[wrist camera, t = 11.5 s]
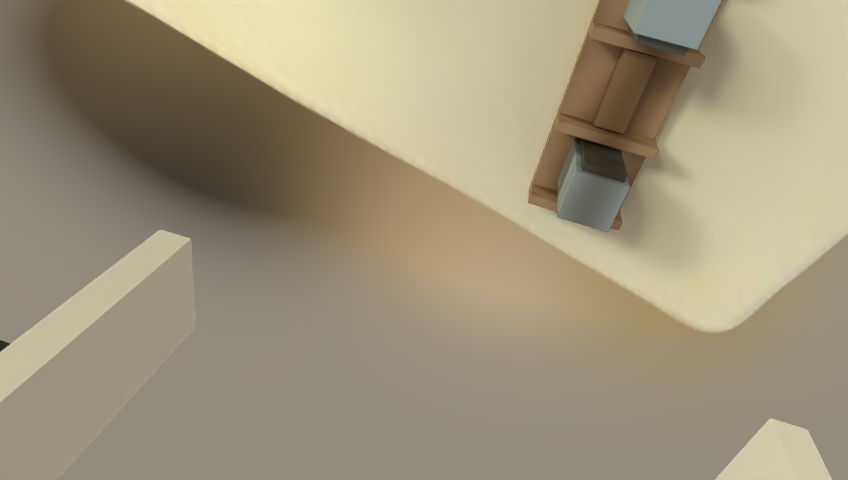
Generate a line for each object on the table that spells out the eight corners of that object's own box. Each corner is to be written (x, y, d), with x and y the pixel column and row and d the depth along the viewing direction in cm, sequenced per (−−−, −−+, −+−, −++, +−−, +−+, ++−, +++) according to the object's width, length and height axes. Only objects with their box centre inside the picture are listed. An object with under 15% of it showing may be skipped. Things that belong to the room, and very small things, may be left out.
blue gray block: (703, -29, 36) (731, -20, 30) (672, 39, 39) (692, 59, 33) (646, -43, 36) (663, -38, 31) (619, 25, 39) (630, 42, 33)
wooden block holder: (529, 188, 48) (524, 230, 41) (630, -86, 36) (646, -88, 30) (614, 213, 48) (622, 260, 41) (745, -56, 36) (788, -52, 29)
